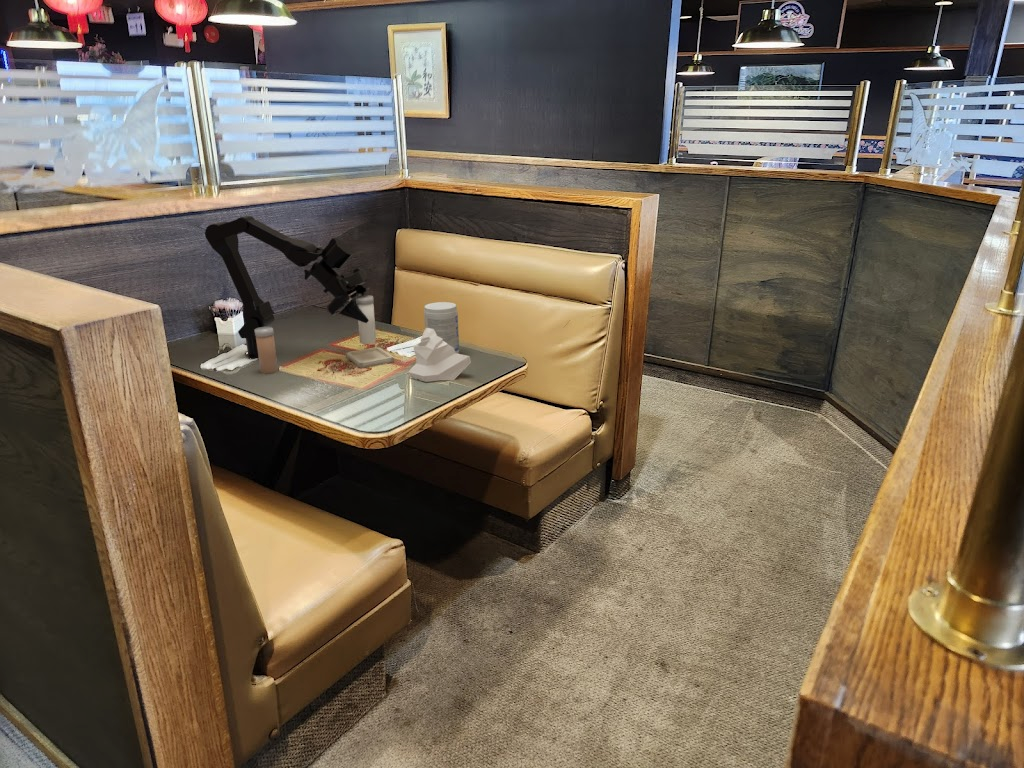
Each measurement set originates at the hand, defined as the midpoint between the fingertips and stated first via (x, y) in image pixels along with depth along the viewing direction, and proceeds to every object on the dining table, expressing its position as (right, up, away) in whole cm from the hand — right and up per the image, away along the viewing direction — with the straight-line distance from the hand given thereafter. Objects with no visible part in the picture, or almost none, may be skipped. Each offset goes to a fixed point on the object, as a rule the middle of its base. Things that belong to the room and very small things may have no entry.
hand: (370, 319), depth 203 cm
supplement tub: (+20, -10, +9) cm, 23 cm away
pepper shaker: (-27, -15, -4) cm, 31 cm away
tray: (-1, -11, +4) cm, 12 cm away
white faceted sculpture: (+19, -16, -9) cm, 27 cm away
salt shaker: (-1, -6, +2) cm, 7 cm away
